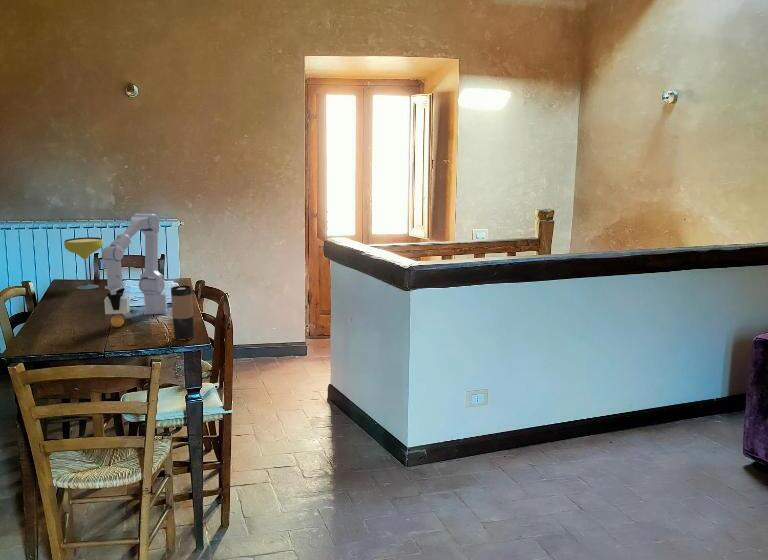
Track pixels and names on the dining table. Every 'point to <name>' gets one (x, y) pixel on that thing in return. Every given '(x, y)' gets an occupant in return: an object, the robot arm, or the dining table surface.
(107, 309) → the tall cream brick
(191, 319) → the travel mug
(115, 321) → the ball
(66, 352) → the dining table surface
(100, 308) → the dining table surface
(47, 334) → the dining table surface
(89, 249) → the cocktail glass
